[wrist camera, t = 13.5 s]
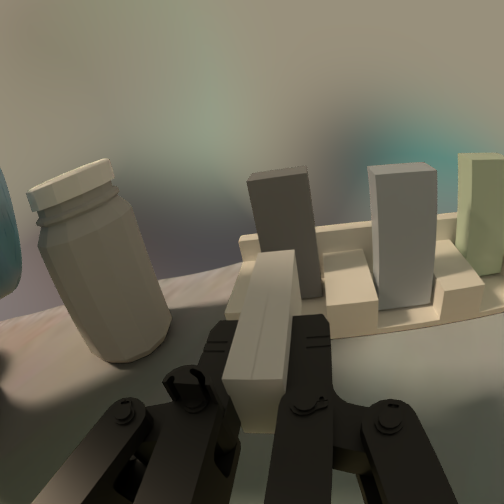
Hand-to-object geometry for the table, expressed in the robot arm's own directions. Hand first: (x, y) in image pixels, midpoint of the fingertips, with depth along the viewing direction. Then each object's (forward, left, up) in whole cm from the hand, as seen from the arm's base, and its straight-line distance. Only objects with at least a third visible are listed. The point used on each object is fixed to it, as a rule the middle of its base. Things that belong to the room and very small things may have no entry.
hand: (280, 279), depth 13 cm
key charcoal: (-6, +14, -11) cm, 19 cm away
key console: (+4, +16, -12) cm, 20 cm away
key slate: (+4, +15, -11) cm, 19 cm away
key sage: (+12, +21, -11) cm, 27 cm away
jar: (-20, +3, -12) cm, 24 cm away
